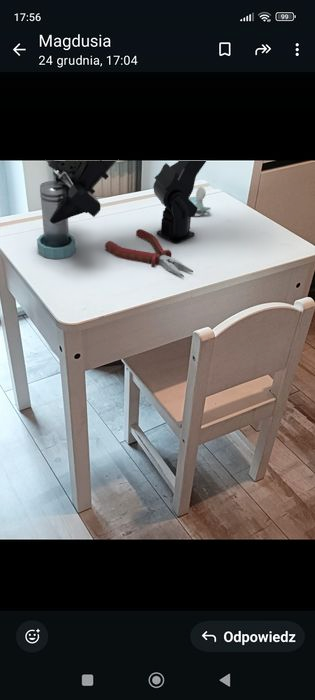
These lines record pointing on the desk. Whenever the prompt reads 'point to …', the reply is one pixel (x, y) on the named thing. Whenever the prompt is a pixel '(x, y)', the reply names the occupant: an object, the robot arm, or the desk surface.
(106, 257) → the desk surface
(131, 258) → the pliers
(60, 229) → the piston
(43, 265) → the desk surface
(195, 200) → the pacifier
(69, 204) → the robot arm
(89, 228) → the desk surface
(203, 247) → the desk surface
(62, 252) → the ring collar
